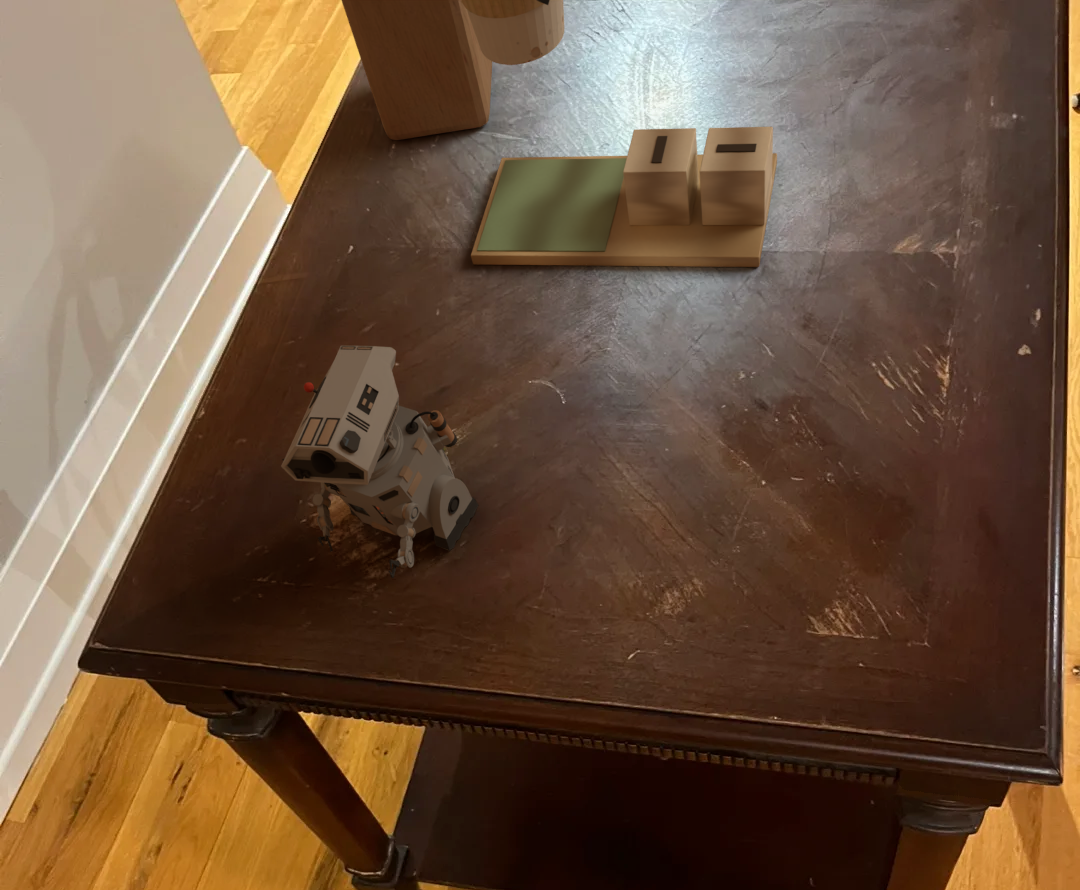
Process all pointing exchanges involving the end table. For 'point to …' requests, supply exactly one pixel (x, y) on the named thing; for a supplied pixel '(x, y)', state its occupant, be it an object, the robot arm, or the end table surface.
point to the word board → (635, 204)
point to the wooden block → (422, 65)
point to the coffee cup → (516, 28)
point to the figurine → (378, 455)
